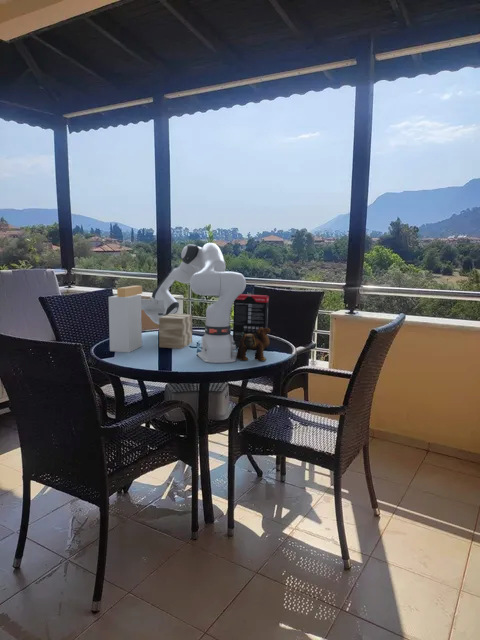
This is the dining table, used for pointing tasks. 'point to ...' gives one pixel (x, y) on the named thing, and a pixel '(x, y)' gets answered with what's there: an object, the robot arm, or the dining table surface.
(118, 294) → the bar
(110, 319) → the stand
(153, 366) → the dining table surface
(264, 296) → the graphics card box
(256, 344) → the figurine
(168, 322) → the pedestal
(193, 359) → the dining table surface
